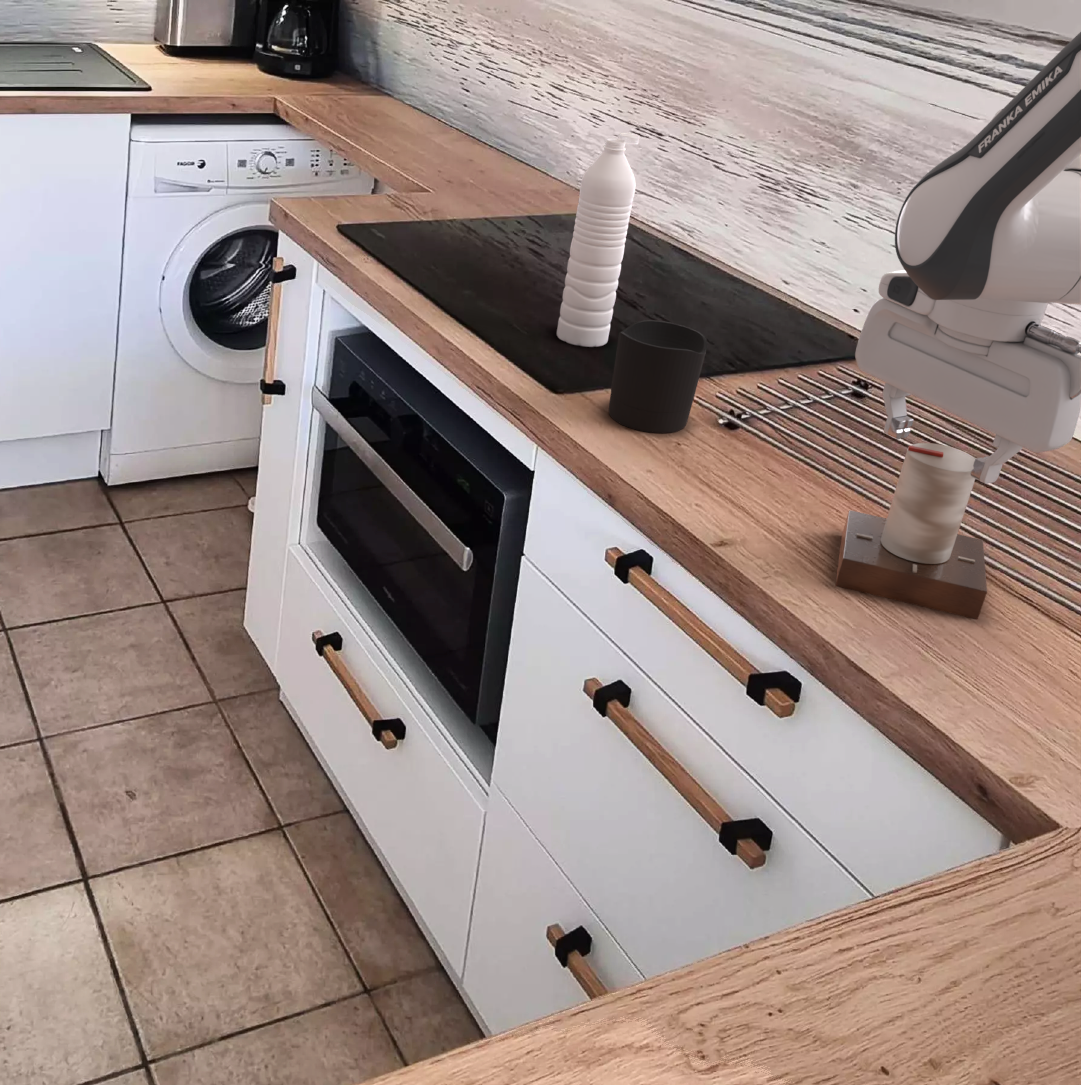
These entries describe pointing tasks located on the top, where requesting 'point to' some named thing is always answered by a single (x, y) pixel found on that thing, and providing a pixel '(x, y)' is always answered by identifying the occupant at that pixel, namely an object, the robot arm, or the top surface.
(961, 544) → the roll stand
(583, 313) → the water bottle
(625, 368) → the pen holder
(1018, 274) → the robot arm
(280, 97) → the top surface
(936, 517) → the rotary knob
